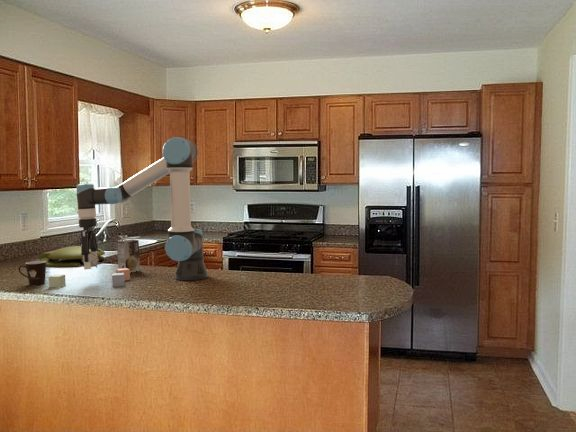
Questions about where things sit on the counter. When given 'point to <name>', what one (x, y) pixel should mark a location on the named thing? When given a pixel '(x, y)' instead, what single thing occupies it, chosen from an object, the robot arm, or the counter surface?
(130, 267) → the coffee box
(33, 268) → the coffee mug
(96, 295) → the counter surface
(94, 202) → the robot arm
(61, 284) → the sage cube
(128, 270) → the terracotta cube
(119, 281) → the slate cube
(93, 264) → the game die
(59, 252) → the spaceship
